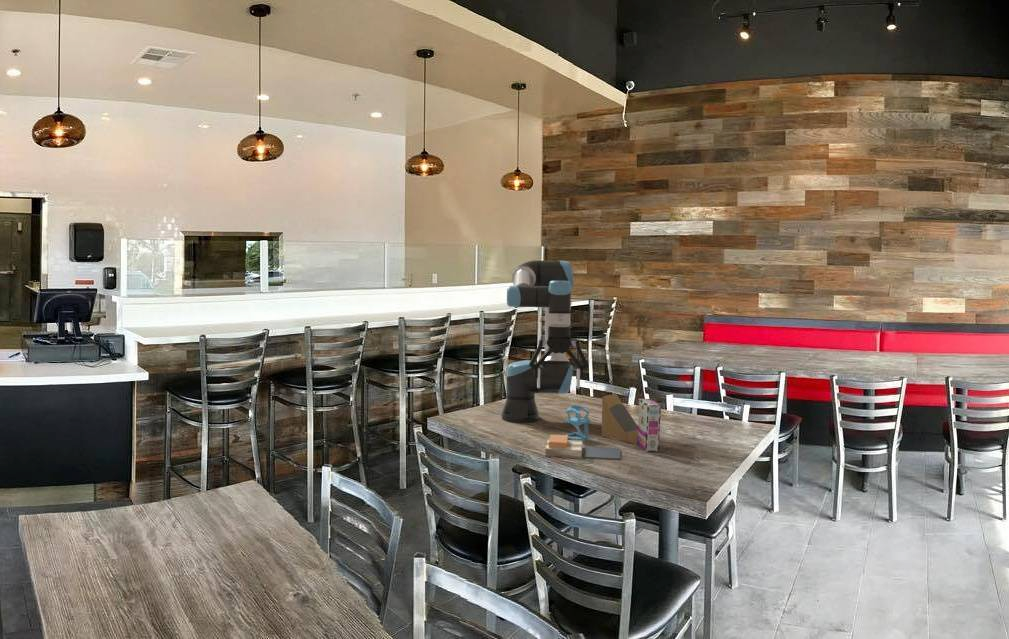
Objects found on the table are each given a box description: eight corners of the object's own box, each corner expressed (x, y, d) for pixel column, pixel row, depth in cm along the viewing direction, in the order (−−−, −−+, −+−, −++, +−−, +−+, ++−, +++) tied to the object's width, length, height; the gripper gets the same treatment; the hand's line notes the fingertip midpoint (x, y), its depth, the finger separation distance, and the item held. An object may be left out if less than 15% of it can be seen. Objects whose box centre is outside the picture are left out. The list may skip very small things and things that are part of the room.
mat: (585, 447, 242) (585, 446, 242) (619, 449, 241) (619, 447, 241) (584, 458, 231) (584, 456, 230) (620, 459, 229) (620, 458, 229)
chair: (580, 443, 248) (580, 410, 247) (561, 438, 254) (562, 406, 252) (592, 438, 254) (593, 406, 252) (574, 434, 259) (575, 403, 258)
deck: (547, 445, 244) (548, 438, 244) (582, 447, 242) (582, 440, 242) (545, 456, 232) (545, 448, 232) (581, 457, 231) (581, 450, 230)
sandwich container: (634, 444, 247) (636, 403, 246) (600, 435, 258) (601, 396, 257) (648, 440, 253) (649, 400, 252) (614, 431, 264) (615, 393, 263)
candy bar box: (659, 452, 238) (661, 405, 236) (645, 452, 238) (647, 405, 236) (650, 442, 249) (652, 398, 247) (636, 443, 249) (638, 398, 247)
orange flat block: (550, 440, 242) (550, 434, 242) (567, 441, 241) (567, 435, 241) (548, 447, 233) (548, 441, 233) (566, 448, 233) (566, 442, 232)
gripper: (523, 326, 231) (522, 389, 232) (597, 326, 232) (596, 389, 233) (522, 324, 239) (521, 386, 240) (593, 325, 240) (592, 386, 241)
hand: (558, 387), depth 237 cm, fingers open, 13 cm apart
